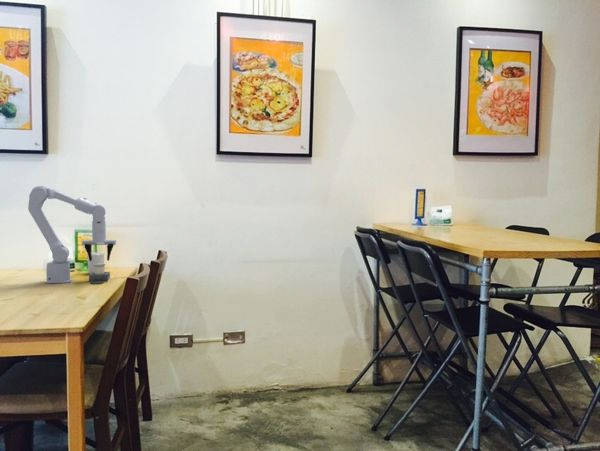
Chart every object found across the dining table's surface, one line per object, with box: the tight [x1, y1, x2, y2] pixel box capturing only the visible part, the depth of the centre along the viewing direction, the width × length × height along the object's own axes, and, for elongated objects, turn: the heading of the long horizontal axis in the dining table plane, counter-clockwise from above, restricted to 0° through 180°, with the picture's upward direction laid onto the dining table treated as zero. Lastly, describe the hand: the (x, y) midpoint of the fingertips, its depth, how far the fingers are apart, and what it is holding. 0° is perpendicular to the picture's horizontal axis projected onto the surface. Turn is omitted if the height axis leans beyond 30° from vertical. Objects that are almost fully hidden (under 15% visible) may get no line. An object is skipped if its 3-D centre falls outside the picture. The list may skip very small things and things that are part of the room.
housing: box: [88, 271, 111, 283], centre depth 236 cm, size 8×8×3 cm
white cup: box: [86, 252, 105, 275], centre depth 251 cm, size 8×8×10 cm
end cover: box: [94, 262, 106, 275], centre depth 235 cm, size 5×5×7 cm
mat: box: [89, 281, 105, 285], centre depth 228 cm, size 6×6×1 cm
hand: (99, 260), depth 235 cm, fingers open, 7 cm apart
